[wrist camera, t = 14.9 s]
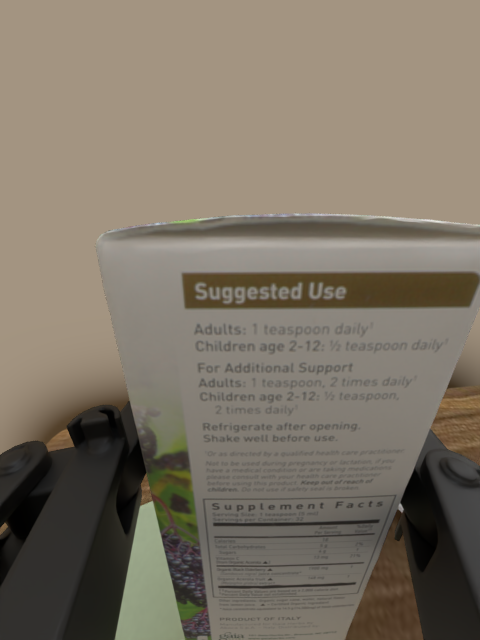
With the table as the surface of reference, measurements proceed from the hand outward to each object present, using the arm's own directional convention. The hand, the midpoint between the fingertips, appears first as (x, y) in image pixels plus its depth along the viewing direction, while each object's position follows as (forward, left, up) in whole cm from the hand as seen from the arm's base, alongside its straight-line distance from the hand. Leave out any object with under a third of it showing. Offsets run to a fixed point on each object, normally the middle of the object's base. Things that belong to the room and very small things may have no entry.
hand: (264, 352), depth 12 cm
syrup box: (+2, +5, -8) cm, 10 cm away
